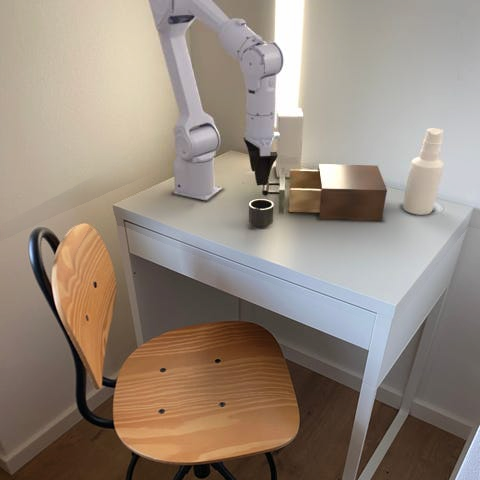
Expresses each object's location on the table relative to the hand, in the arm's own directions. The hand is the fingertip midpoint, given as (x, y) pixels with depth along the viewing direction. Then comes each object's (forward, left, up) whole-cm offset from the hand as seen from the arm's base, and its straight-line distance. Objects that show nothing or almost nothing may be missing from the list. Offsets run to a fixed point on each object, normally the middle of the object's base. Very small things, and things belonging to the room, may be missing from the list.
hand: (259, 177), depth 110 cm
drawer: (+6, +10, -9) cm, 14 cm away
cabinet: (+16, +14, -9) cm, 24 cm away
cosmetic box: (-5, +28, -10) cm, 30 cm away
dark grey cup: (+2, -3, -9) cm, 10 cm away
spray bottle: (+31, +21, -10) cm, 39 cm away
